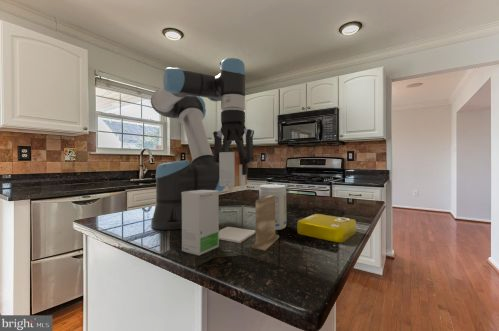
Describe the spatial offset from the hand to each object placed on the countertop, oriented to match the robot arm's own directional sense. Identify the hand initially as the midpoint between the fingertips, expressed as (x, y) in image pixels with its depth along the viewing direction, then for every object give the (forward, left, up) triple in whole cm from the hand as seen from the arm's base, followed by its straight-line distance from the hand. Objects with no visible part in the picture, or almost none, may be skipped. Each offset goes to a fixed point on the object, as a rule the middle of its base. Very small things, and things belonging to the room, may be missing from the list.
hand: (233, 185), depth 76 cm
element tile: (+26, +16, -17) cm, 35 cm away
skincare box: (-2, -14, -16) cm, 21 cm away
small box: (0, 0, 0) cm, 0 cm away
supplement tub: (+8, +14, -16) cm, 23 cm away
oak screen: (+12, -2, -16) cm, 20 cm away
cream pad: (0, 0, -16) cm, 16 cm away
